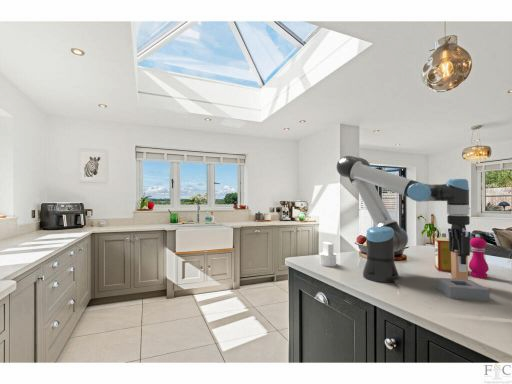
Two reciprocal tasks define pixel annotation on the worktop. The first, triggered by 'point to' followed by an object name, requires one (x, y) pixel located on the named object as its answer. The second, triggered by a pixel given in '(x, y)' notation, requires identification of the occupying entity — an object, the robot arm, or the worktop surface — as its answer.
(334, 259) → the cylinder with rectangular tab
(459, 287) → the grey square socket block
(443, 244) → the baking soda box
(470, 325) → the worktop surface
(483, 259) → the pepper mill
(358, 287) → the worktop surface
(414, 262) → the worktop surface
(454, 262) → the plug
